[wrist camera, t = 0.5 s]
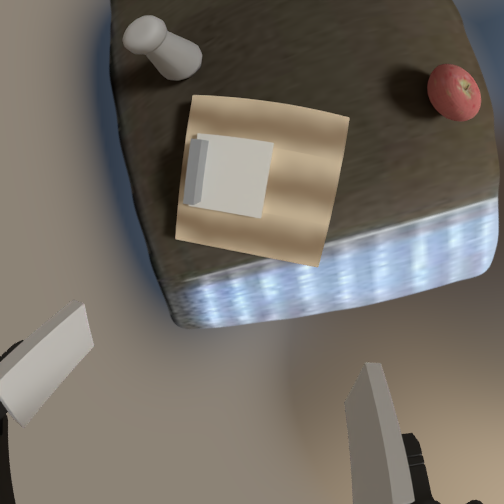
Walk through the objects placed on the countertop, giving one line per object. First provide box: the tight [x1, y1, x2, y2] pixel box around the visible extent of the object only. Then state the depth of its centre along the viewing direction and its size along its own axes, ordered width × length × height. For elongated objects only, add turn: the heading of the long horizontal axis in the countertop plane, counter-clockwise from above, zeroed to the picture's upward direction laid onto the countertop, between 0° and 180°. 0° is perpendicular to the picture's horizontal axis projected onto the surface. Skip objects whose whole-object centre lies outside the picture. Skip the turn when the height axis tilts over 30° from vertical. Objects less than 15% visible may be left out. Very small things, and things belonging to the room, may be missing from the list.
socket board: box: [175, 95, 349, 267], centre depth 31 cm, size 18×18×3 cm
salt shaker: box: [123, 15, 202, 81], centre depth 23 cm, size 6×6×13 cm
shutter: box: [183, 133, 274, 219], centre depth 28 cm, size 8×8×4 cm
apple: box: [427, 64, 481, 121], centre depth 21 cm, size 7×7×8 cm
